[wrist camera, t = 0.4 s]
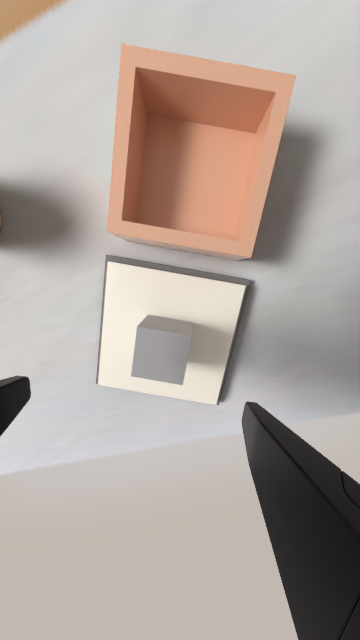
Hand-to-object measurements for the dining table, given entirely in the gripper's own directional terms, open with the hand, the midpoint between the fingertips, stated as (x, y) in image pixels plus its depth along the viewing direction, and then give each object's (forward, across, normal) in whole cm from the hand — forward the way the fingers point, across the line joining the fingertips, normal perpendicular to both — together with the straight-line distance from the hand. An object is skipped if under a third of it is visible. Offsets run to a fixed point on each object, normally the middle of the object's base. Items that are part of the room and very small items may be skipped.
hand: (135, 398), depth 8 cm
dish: (+12, -1, -12) cm, 17 cm away
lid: (+11, 0, +1) cm, 11 cm away
